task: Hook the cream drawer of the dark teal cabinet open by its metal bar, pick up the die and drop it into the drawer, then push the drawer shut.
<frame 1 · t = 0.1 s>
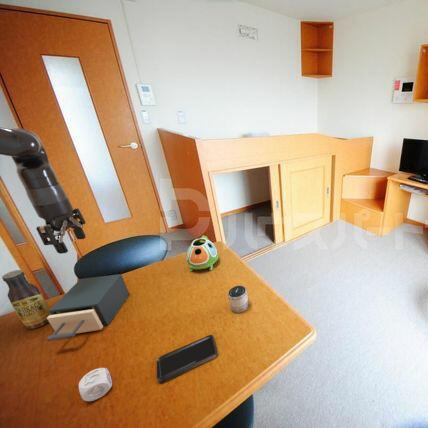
hand: (73, 245, 78), 24 cm above the table, tool pointing down, fingers open, 8 cm apart
turtle holder: (204, 262, 110), on the table
phone: (188, 358, 69), on the table
sauce bottle: (41, 322, 79), on the table
die: (100, 390, 61), on the table
camera lens: (239, 307, 86), on the table
cabinet: (99, 311, 83), on the table
drawer: (83, 314, 77), point 5 cm above the table, slide at 1.0 cm
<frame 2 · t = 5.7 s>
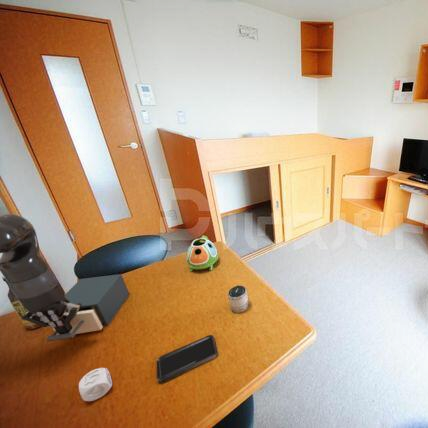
hand: (66, 332, 70), 5 cm above the table, tool pointing down, fingers closed
drawer: (82, 314, 76), point 5 cm above the table, slide at 1.2 cm, touching gripper
everything else where it was.
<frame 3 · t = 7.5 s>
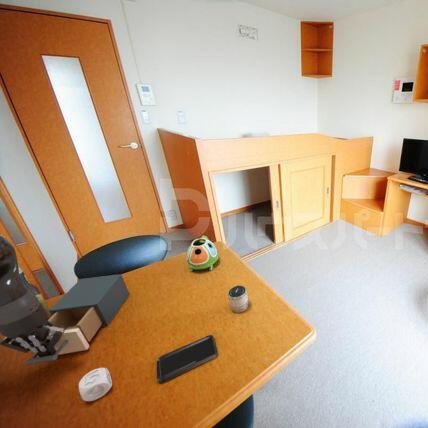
hand: (50, 357, 64), 4 cm above the table, tool pointing down, fingers closed
drawer: (67, 332, 70), point 5 cm above the table, slide at 8.0 cm, touching gripper
everything else where it was.
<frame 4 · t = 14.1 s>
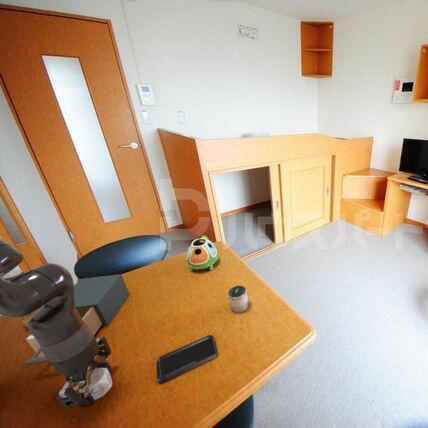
hand: (98, 387, 61), 1 cm above the table, tool pointing down, fingers closed on die, 6 cm apart
die: (100, 390, 61), on the table, touching gripper
drawer: (67, 332, 70), point 5 cm above the table, slide at 8.0 cm
everything else where it was.
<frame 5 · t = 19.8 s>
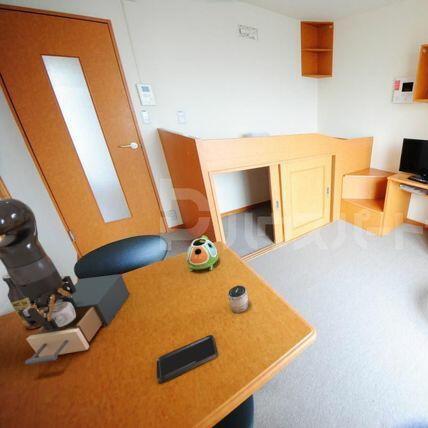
hand: (62, 318, 69), 9 cm above the table, tool pointing down, fingers closed on die, 6 cm apart
die: (64, 321, 70), point 8 cm above the table, touching gripper
everything else where it was.
when the fingers open (11 cm above the table, at t = 36.2 s): die drops 9 cm, resting on drawer.
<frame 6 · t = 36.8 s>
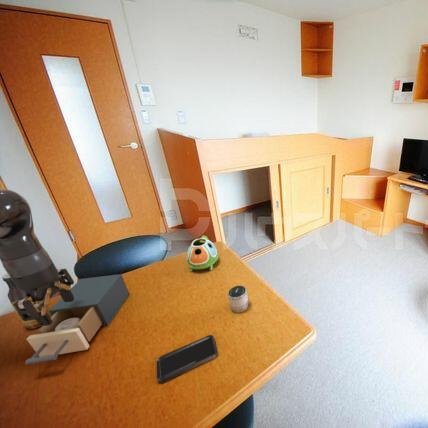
hand: (59, 312, 68), 12 cm above the table, tool pointing down, fingers open, 8 cm apart
die: (74, 336, 73), point 2 cm above the table, touching drawer
drawer: (67, 332, 70), point 5 cm above the table, slide at 8.0 cm, touching die
everything else where it was.
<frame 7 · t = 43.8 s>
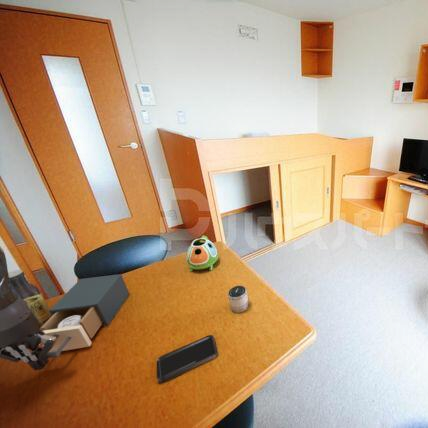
hand: (42, 366, 62), 4 cm above the table, tool pointing down, fingers closed
die: (76, 333, 74), point 2 cm above the table, touching drawer
drawer: (70, 329, 71), point 5 cm above the table, slide at 6.9 cm, touching die, gripper
everything else where it was.
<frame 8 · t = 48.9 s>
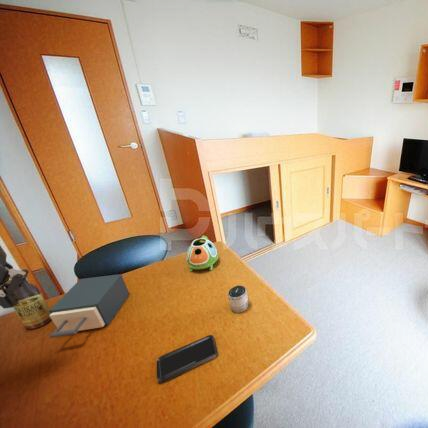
hand: (12, 305, 59), 21 cm above the table, tool pointing down, fingers closed
die: (90, 315, 80), point 2 cm above the table, touching drawer
drawer: (85, 311, 77), point 5 cm above the table, slide at 0.0 cm, touching die
everything else where it was.
at the end: drawer pulled out 8.0 cm at the most during the clip, back to where it started at the end; die inside the target area in the cabinet (3.5 cm from its centre), point 1.8 cm above the cabinet's base; drawer slide at 0.0 cm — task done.
